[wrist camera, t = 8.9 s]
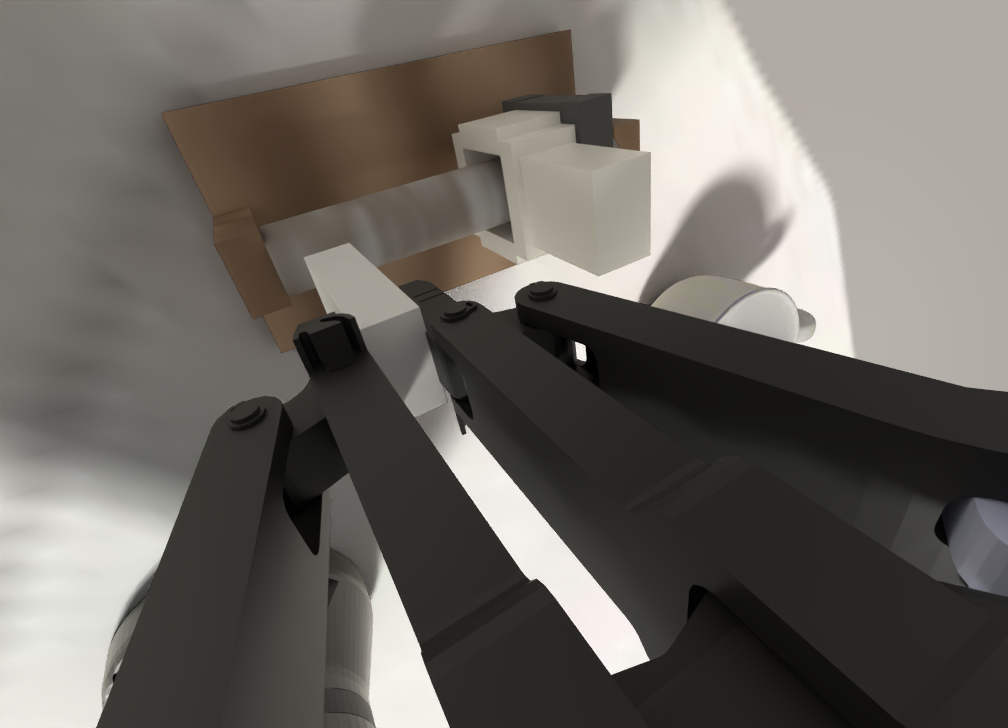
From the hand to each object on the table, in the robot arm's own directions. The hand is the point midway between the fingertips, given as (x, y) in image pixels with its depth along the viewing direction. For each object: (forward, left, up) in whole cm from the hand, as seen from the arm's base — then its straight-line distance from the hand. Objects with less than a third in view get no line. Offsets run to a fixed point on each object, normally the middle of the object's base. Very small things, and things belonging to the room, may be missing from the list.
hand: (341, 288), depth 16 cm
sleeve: (+9, 0, -7) cm, 12 cm away
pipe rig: (+6, 0, -9) cm, 11 cm away
